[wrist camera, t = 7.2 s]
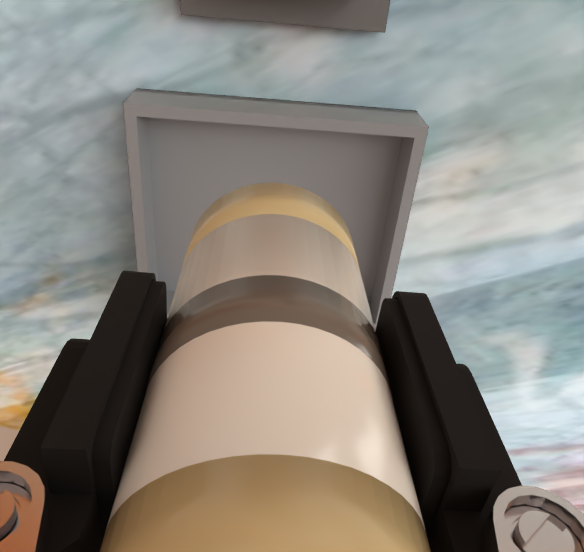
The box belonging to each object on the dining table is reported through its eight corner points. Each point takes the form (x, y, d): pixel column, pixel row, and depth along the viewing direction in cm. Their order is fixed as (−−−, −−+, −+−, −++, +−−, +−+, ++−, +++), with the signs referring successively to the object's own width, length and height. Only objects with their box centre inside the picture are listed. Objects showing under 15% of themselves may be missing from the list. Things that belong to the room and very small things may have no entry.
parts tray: (416, 110, 29) (428, 126, 27) (376, 304, 36) (383, 332, 34) (137, 88, 28) (122, 103, 26) (151, 292, 35) (141, 319, 33)
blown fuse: (368, 190, 12) (529, 624, 4) (340, 331, 14) (415, 787, 6) (187, 174, 12) (21, 611, 4) (187, 320, 14) (78, 786, 6)
